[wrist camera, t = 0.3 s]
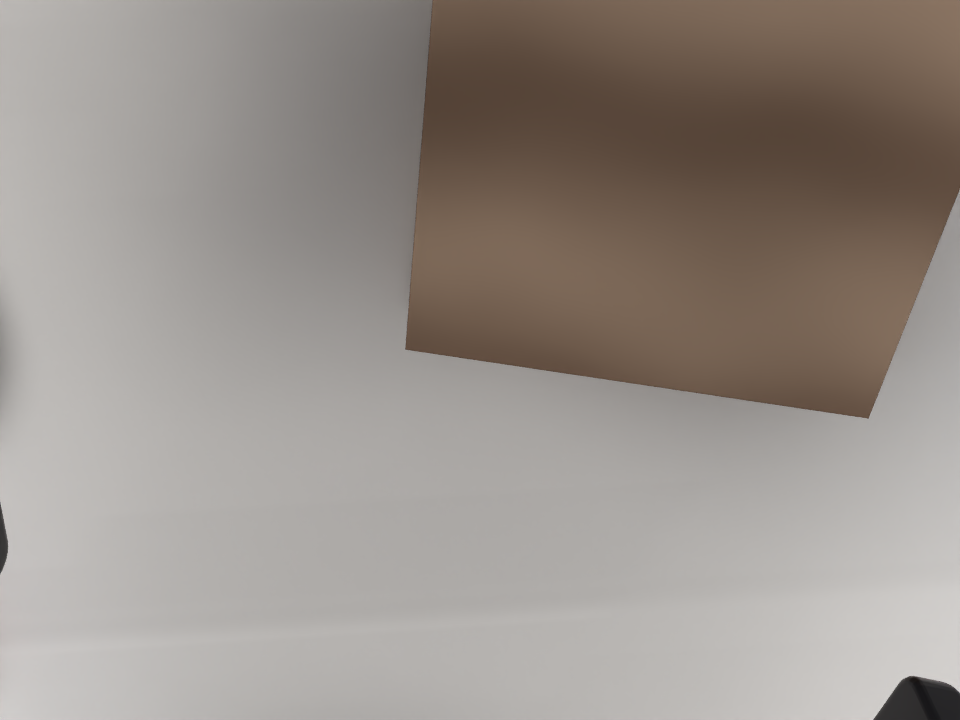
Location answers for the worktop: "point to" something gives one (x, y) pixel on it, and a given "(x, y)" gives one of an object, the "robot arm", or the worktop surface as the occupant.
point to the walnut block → (685, 189)
